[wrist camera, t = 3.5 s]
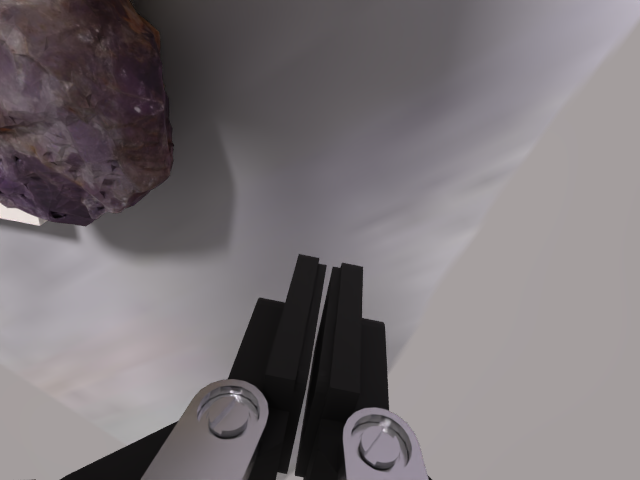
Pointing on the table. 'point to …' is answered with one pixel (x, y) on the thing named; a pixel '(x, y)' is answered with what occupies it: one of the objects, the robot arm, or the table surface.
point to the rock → (80, 108)
